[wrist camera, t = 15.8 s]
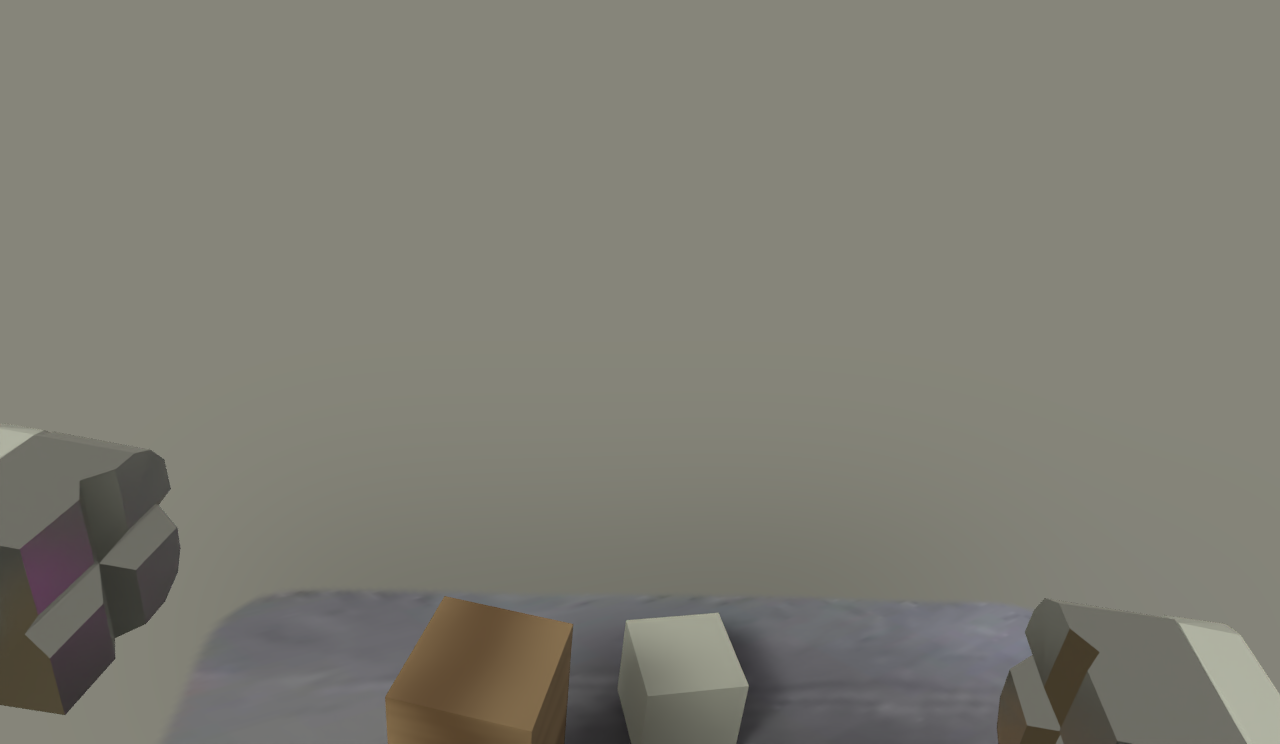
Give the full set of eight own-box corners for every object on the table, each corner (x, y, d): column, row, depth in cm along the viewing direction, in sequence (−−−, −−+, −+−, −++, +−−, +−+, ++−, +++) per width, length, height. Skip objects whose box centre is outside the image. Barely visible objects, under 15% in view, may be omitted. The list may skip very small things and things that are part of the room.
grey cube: (705, 681, 50) (718, 612, 48) (733, 757, 46) (748, 685, 43) (617, 690, 49) (625, 620, 46) (637, 768, 44) (647, 696, 42)
